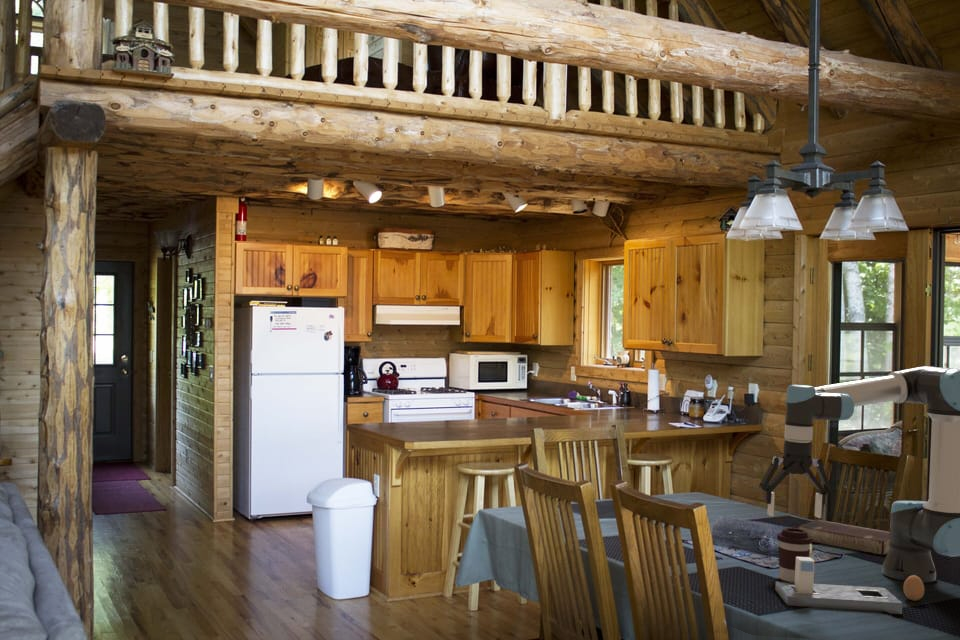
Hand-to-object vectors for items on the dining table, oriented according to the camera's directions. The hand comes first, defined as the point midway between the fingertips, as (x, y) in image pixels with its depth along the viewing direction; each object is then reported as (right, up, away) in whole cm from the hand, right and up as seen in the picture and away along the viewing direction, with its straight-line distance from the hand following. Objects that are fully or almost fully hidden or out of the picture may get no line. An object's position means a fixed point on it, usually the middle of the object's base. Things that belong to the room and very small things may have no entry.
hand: (794, 516), depth 273 cm
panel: (+10, -23, -5) cm, 25 cm away
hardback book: (+41, -23, +68) cm, 83 cm away
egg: (+34, -24, +1) cm, 41 cm away
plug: (+1, -22, -4) cm, 22 cm away
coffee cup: (+5, -22, +16) cm, 28 cm away
